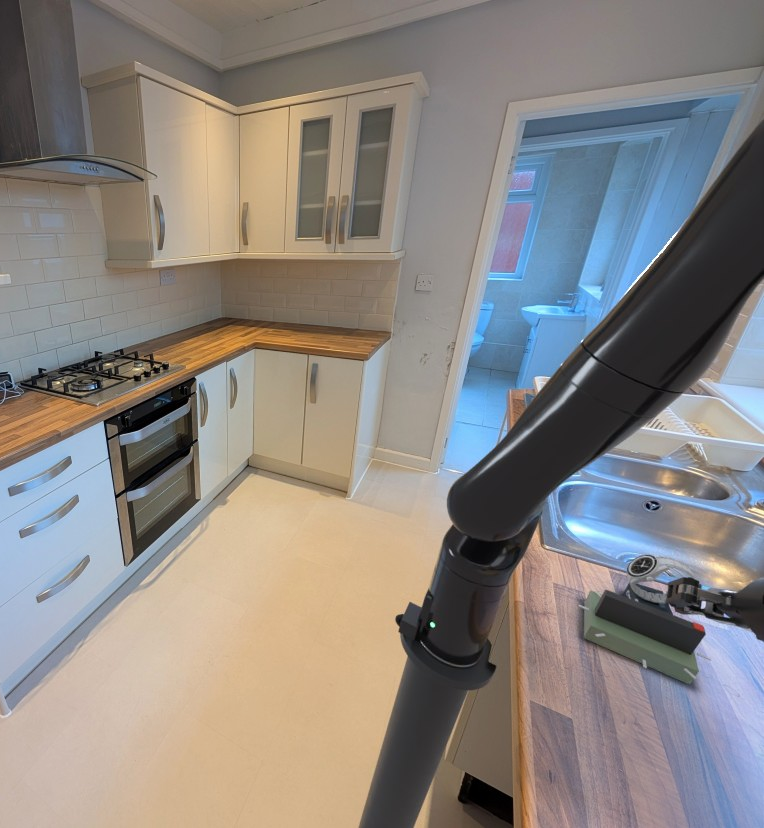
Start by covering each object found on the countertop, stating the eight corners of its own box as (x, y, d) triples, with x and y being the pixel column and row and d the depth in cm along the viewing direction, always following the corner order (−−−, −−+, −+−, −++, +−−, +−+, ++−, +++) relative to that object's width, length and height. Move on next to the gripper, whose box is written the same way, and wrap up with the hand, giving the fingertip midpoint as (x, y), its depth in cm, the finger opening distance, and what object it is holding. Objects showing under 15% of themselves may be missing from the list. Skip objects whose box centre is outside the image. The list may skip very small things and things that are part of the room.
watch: (608, 589, 77) (633, 542, 72) (668, 608, 73) (698, 560, 69) (615, 612, 73) (642, 563, 68) (679, 633, 69) (712, 583, 64)
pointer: (594, 615, 68) (606, 594, 66) (594, 608, 70) (605, 587, 68) (691, 655, 62) (707, 633, 60) (689, 647, 63) (704, 625, 61)
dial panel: (570, 651, 66) (577, 637, 65) (572, 590, 77) (579, 577, 76) (711, 715, 57) (723, 701, 56) (691, 637, 68) (701, 623, 67)
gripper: (978, 614, 34) (813, 614, 48) (719, 544, 41) (641, 562, 55) (981, 713, 32) (809, 683, 46) (710, 622, 39) (632, 620, 53)
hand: (718, 617), depth 50 cm, fingers open, 6 cm apart
